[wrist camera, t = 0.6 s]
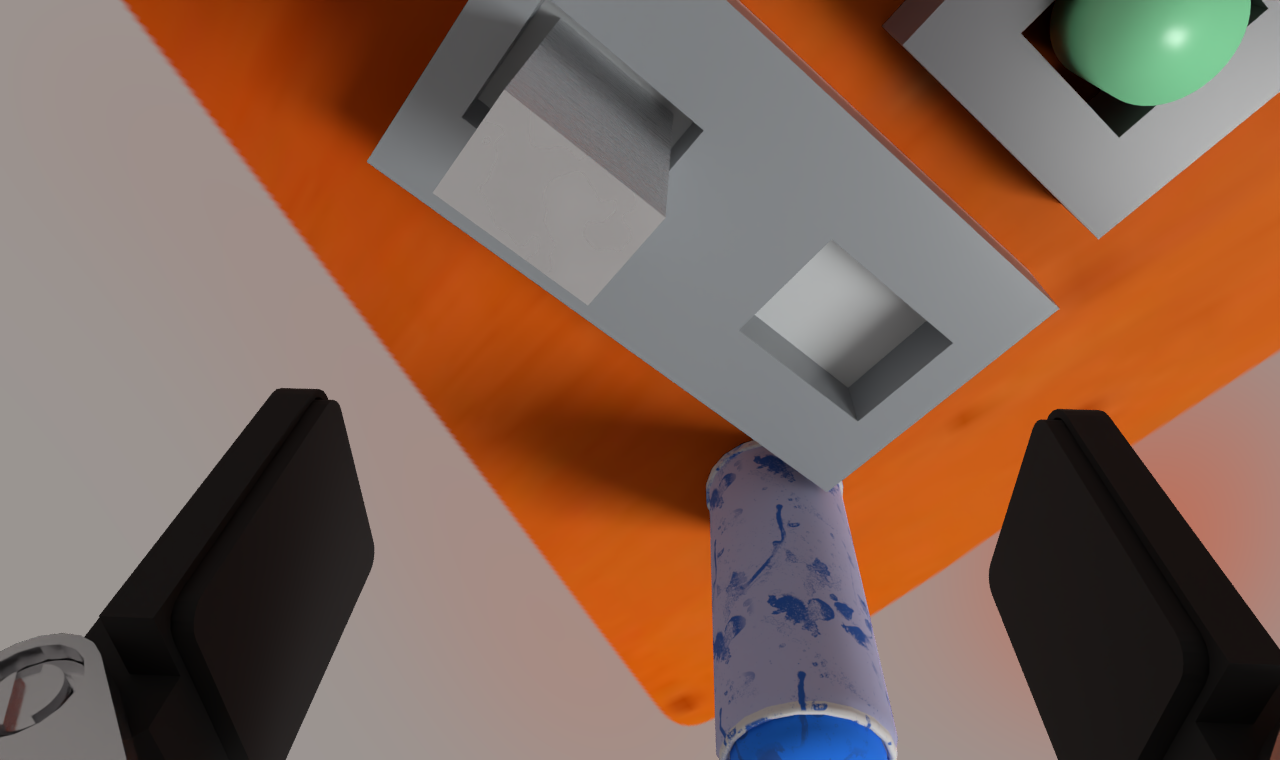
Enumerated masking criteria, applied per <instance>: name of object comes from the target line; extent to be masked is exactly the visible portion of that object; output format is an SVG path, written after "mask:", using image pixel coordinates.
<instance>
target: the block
mask: <svg viewBox="0 0 1280 760" xmlns="http://www.w3.org/2000/svg"><path fill="white" fill-rule="evenodd" d="M672 125H673V113H672V112H671V111H670V110H669V109H668V108H666V107H665V106H664V105H663V104H662V103H660V102H659V101H658V100H657V99H656V98H655V97H653V96H652V95H651V94H650V93H649V92H647V91H646V90H645V89H644V88H643V87H642V86H640V85H639V84H638V83H637V82H636V81H634V80H633V79H632V78H631V77H630V76H629V75H627V74H626V73H625V72H624V71H623V70H622V69H620V68H619V67H618V66H617V65H616V64H614V63H613V62H612V61H611V60H610V59H609V58H607V57H606V56H605V55H604V54H603V53H601V52H600V51H599V50H598V49H597V48H596V47H594V46H593V45H592V44H591V43H590V42H588V41H587V40H586V39H585V38H584V37H583V36H581V35H580V34H579V33H578V32H577V31H575V30H574V29H573V28H572V27H571V26H570V25H568V24H567V23H566V22H565V21H564V20H563V19H560V20H559V21H558V22H557V24H556V25H555V26H554V27H553V29H552V30H551V31H550V32H549V34H548V35H547V36H546V38H545V39H544V40H543V41H542V43H541V44H540V45H539V46H538V48H537V49H536V50H535V51H534V53H533V54H532V55H531V56H530V58H529V59H528V60H527V61H526V63H525V64H524V65H523V67H522V68H521V69H520V70H519V72H518V73H517V74H516V75H515V77H514V78H513V79H512V80H511V82H510V83H509V84H508V85H507V87H506V88H505V89H504V91H503V92H502V93H501V95H500V96H499V98H498V99H497V101H496V102H495V104H494V105H493V106H492V108H491V109H490V111H489V112H488V114H487V115H486V117H485V118H484V119H483V121H482V122H481V124H480V125H479V127H478V128H477V130H476V131H475V132H474V134H473V135H472V137H471V138H470V140H469V141H468V142H467V144H466V145H465V147H464V148H463V150H462V151H461V153H460V154H459V155H458V157H457V158H456V160H455V161H454V163H453V164H452V166H451V167H450V168H449V170H448V171H447V173H446V174H445V176H444V177H443V179H442V180H441V181H440V183H439V184H438V186H437V187H436V189H435V190H434V191H433V194H435V195H436V196H437V197H439V198H440V199H442V200H443V201H444V202H446V203H447V204H448V205H450V206H451V207H453V208H454V209H455V210H457V211H458V212H460V213H461V214H462V215H464V216H465V217H466V218H468V219H469V220H471V221H472V222H473V223H475V224H476V225H477V226H479V227H480V228H482V229H483V230H484V231H486V232H487V233H488V234H490V235H491V236H493V237H494V238H495V239H497V240H498V241H500V242H501V243H502V244H504V245H505V246H506V247H508V248H509V249H511V250H512V251H513V252H515V253H516V254H517V255H519V256H520V257H522V258H523V259H524V260H526V261H527V262H528V263H530V264H531V265H533V266H534V267H535V268H537V269H538V270H540V271H541V272H542V273H544V274H545V275H546V276H548V277H549V278H551V279H552V280H553V281H555V282H556V283H557V284H559V285H560V286H562V287H563V288H564V289H566V290H567V291H568V292H570V293H571V294H573V295H574V296H575V297H577V298H578V299H579V300H581V301H582V302H584V303H585V304H586V305H589V304H590V303H591V302H592V301H593V299H594V298H595V297H596V296H597V295H598V294H599V293H600V291H601V290H602V289H603V288H604V287H605V286H606V285H607V284H608V282H609V281H610V280H611V279H612V278H613V277H614V276H615V274H616V273H617V272H618V271H619V270H620V269H621V268H622V266H623V265H624V264H625V263H626V262H627V261H628V260H629V259H630V257H631V256H632V255H633V254H634V253H635V252H636V251H637V249H638V248H639V247H640V246H641V245H642V244H643V243H644V242H645V240H646V239H647V238H648V237H649V236H650V235H651V234H652V232H653V231H654V230H655V229H656V228H657V227H658V226H659V225H660V223H661V222H662V221H663V220H664V219H665V218H666V206H667V193H668V179H669V166H670V152H671V139H672Z"/></svg>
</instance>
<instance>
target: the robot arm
mask: <svg viewBox="0 0 1280 760" xmlns="http://www.w3.org/2000/svg"><path fill="white" fill-rule="evenodd" d="M373 560H374V542H373V538H372V534H371V530H370V526H369V522H368V517H367V514H366V509H365V506H364V501H363V497H362V493H361V489H360V485H359V481H358V477H357V473H356V469H355V465H354V460H353V457H352V453H351V448H350V444H349V440H348V436H347V432H346V428H345V424H344V420H343V416H342V412H341V408H340V405H339V404H338V403H337V401H335V400H328V398H327V396H326V394H325V393H324V391H322V390H320V389H291V388H280V389H276V391H274V392H273V393H272V394H271V396H270V397H269V398H268V399H267V401H266V402H265V403H264V405H263V406H262V407H261V408H260V410H259V411H258V412H257V414H256V415H255V416H254V417H253V419H252V420H251V421H250V423H249V424H248V425H247V426H246V428H245V429H244V430H243V432H242V433H241V434H240V436H239V437H238V438H237V439H236V441H235V442H234V443H233V445H232V446H231V447H230V448H229V450H228V451H227V452H226V453H225V455H224V456H223V457H222V459H221V460H220V461H219V462H218V464H217V465H216V466H215V468H214V469H213V470H212V471H211V473H210V474H209V475H208V477H207V478H206V479H205V480H204V482H203V483H202V484H201V486H200V487H199V488H198V489H197V491H196V492H195V493H194V495H193V496H192V497H191V499H190V500H189V501H188V502H187V504H186V505H185V506H184V507H183V509H182V510H181V511H180V513H179V514H178V515H177V516H176V518H175V519H174V520H173V522H172V523H171V524H170V525H169V527H168V528H167V529H166V531H165V532H164V533H163V535H162V536H161V537H160V538H159V540H158V541H157V542H156V543H155V545H154V546H153V547H152V549H151V550H150V551H149V552H148V554H147V555H146V556H145V558H144V559H143V560H142V561H141V563H140V564H139V565H138V567H137V568H136V569H135V570H134V572H133V573H132V574H131V576H130V577H129V578H128V580H127V581H126V582H125V583H124V585H123V586H122V587H121V588H120V590H119V591H118V592H117V594H116V595H115V596H114V597H113V599H112V600H111V601H110V603H109V604H108V605H107V607H106V608H105V609H104V610H103V612H102V613H101V614H100V615H99V617H100V618H99V619H98V620H97V622H96V623H95V624H94V626H93V627H92V628H91V629H90V630H89V632H88V633H87V634H86V636H85V637H82V636H80V635H73V634H65V633H59V634H51V635H44V636H38V637H35V638H32V639H29V640H26V641H23V642H19V643H16V644H14V645H12V646H10V647H8V648H6V649H4V650H2V651H0V760H286V758H287V755H288V753H289V751H290V749H291V746H292V744H293V742H294V740H295V738H296V735H297V733H298V731H299V729H300V726H301V724H302V722H303V720H304V718H305V715H306V713H307V711H308V709H309V706H310V704H311V702H312V700H313V698H314V695H315V693H316V691H317V689H318V686H319V684H320V682H321V680H322V678H323V675H324V673H325V671H326V669H327V666H328V664H329V662H330V660H331V657H332V655H333V653H334V651H335V649H336V646H337V644H338V642H339V640H340V637H341V635H342V633H343V631H344V628H345V626H346V624H347V622H348V620H349V617H350V615H351V613H352V611H353V608H354V606H355V604H356V602H357V599H358V597H359V595H360V593H361V591H362V589H363V586H364V584H365V582H366V580H367V577H368V575H369V573H370V570H371V568H372V565H373ZM989 584H990V589H991V592H992V596H993V598H994V601H995V603H996V606H997V608H998V610H999V613H1000V615H1001V618H1002V621H1003V623H1004V626H1005V628H1006V631H1007V633H1008V636H1009V638H1010V641H1011V643H1012V646H1013V648H1014V650H1015V653H1016V656H1017V658H1018V661H1019V663H1020V666H1021V668H1022V671H1023V673H1024V676H1025V678H1026V680H1027V683H1028V686H1029V688H1030V691H1031V693H1032V695H1033V698H1034V700H1035V703H1036V706H1037V708H1038V711H1039V713H1040V716H1041V718H1042V720H1043V723H1044V726H1045V728H1046V730H1047V733H1048V735H1049V738H1050V741H1051V743H1052V745H1053V748H1054V750H1055V753H1056V756H1057V758H1058V760H1280V649H1279V648H1278V646H1277V645H1276V644H1275V642H1274V641H1273V639H1272V638H1271V637H1270V635H1269V634H1268V633H1267V631H1266V630H1265V629H1264V627H1263V626H1262V625H1261V623H1260V622H1259V620H1258V619H1257V618H1256V616H1255V615H1254V614H1253V612H1252V611H1251V609H1250V608H1249V607H1248V605H1247V604H1246V603H1245V602H1244V600H1243V599H1242V597H1241V596H1240V594H1239V593H1238V592H1237V590H1236V589H1235V588H1234V586H1233V585H1232V583H1231V582H1230V581H1229V579H1228V578H1227V577H1226V575H1225V574H1224V573H1223V571H1222V570H1221V568H1220V567H1219V566H1218V564H1217V563H1216V562H1215V560H1214V559H1213V558H1212V556H1211V555H1210V553H1209V552H1208V551H1207V549H1206V548H1205V547H1204V545H1203V544H1202V543H1201V541H1200V540H1199V538H1198V537H1197V536H1196V534H1195V533H1194V532H1193V531H1192V529H1191V528H1190V526H1189V525H1188V523H1187V522H1186V521H1185V520H1184V518H1183V517H1182V515H1181V514H1180V513H1179V511H1178V510H1177V509H1176V507H1175V506H1174V504H1173V503H1172V502H1171V500H1170V499H1169V497H1168V496H1167V495H1166V493H1165V492H1164V491H1163V489H1162V488H1161V487H1160V485H1159V484H1158V483H1157V481H1156V480H1155V478H1154V477H1153V476H1152V474H1151V473H1150V472H1149V470H1148V469H1147V467H1146V466H1145V465H1144V463H1143V462H1142V461H1141V459H1140V458H1139V457H1138V455H1137V454H1136V453H1135V451H1134V450H1133V449H1132V447H1131V446H1130V444H1129V443H1128V442H1127V440H1126V439H1125V437H1124V436H1123V435H1122V433H1121V432H1120V431H1119V429H1118V428H1117V427H1116V425H1115V424H1114V422H1113V421H1112V420H1111V418H1110V417H1109V416H1108V415H1107V414H1106V413H1105V412H1104V411H1100V410H1072V409H1056V410H1054V411H1052V412H1051V414H1050V415H1049V416H1048V419H1047V420H1039V421H1037V422H1036V423H1035V425H1034V427H1033V430H1032V433H1031V436H1030V439H1029V442H1028V446H1027V449H1026V452H1025V455H1024V458H1023V462H1022V465H1021V468H1020V471H1019V474H1018V478H1017V481H1016V484H1015V487H1014V490H1013V494H1012V497H1011V500H1010V503H1009V506H1008V510H1007V513H1006V516H1005V519H1004V522H1003V525H1002V529H1001V532H1000V535H999V538H998V542H997V545H996V548H995V551H994V554H993V557H992V561H991V564H990V569H989Z"/></svg>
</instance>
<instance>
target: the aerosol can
mask: <svg viewBox="0 0 1280 760" xmlns="http://www.w3.org/2000/svg"><path fill="white" fill-rule="evenodd" d="M842 496H843V483H842V481H841V482H840V483H838V484H837V485H836V486H834V487H833V488H832V489H831V490H829V491H828V492H826V491H824V490H823V489H822V488H820V487H819V486H817V485H816V484H815V483H813V482H812V481H811V480H809V479H808V478H806V477H805V476H804V475H802V474H801V473H799V472H798V471H797V470H795V469H794V468H792V467H791V466H790V465H788V464H787V463H785V462H784V461H783V460H781V459H780V458H778V457H777V456H776V455H774V454H773V453H772V452H770V451H769V450H767V449H766V448H765V447H763V446H762V445H760V444H759V443H758V442H756V441H755V440H753V441H750V442H746V443H743V444H741V445H739V446H737V447H736V448H734V449H732V450H731V451H729V452H728V453H726V454H724V455H723V457H722V458H721V459H720V460H719V461H718V462H717V463H716V465H715V466H714V467H713V468H712V470H711V473H710V475H709V478H708V481H707V483H706V499H707V507H708V509H709V511H710V535H711V574H712V613H713V652H714V691H715V729H716V754H717V756H718V758H719V760H897V754H898V751H897V749H896V747H897V740H898V736H897V732H896V728H895V724H894V719H893V715H892V710H891V706H890V702H889V698H888V693H887V689H886V684H885V680H884V676H883V671H882V667H881V663H880V659H879V654H878V650H877V646H876V641H875V637H874V633H873V629H872V624H871V619H870V615H869V611H868V606H867V602H866V598H865V593H864V589H863V585H862V580H861V576H860V572H859V567H858V563H857V559H856V555H855V550H854V546H853V542H852V537H851V533H850V529H849V524H848V520H847V516H846V511H845V507H844V503H843V498H842Z"/></svg>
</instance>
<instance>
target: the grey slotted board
mask: <svg viewBox="0 0 1280 760" xmlns="http://www.w3.org/2000/svg"><path fill="white" fill-rule="evenodd" d="M560 19H563V20H564V21H565V22H566V23H567V24H568V25H570V26H571V27H572V28H573V29H574V30H575V31H577V32H578V33H579V34H580V35H581V36H583V37H584V38H585V39H586V40H587V41H588V42H590V43H591V44H592V45H593V46H594V47H596V48H597V49H598V50H599V51H600V52H601V53H603V54H604V55H605V56H606V57H607V58H609V59H610V60H611V61H612V62H613V63H614V64H616V65H617V66H618V67H619V68H620V69H622V70H623V71H624V72H625V73H626V74H627V75H629V76H630V77H631V78H632V79H633V80H634V81H636V82H637V83H638V84H639V85H640V86H642V87H643V88H644V89H645V90H646V91H647V92H649V93H650V94H651V95H652V96H653V97H655V98H656V99H657V100H658V101H659V102H660V103H662V104H663V105H664V106H665V107H666V108H668V109H669V110H670V111H671V112H672V113H673V125H672V139H671V152H670V166H669V179H668V193H667V206H666V218H665V219H664V220H663V221H662V222H661V223H660V225H659V226H658V227H657V228H656V229H655V230H654V231H653V232H652V234H651V235H650V236H649V237H648V238H647V239H646V240H645V242H644V243H643V244H642V245H641V246H640V247H639V248H638V249H637V251H636V252H635V253H634V254H633V255H632V256H631V257H630V259H629V260H628V261H627V262H626V263H625V264H624V265H623V266H622V268H621V269H620V270H619V271H618V272H617V273H616V274H615V276H614V277H613V278H612V279H611V280H610V281H609V282H608V284H607V285H606V286H605V287H604V288H603V289H602V290H601V291H600V293H599V294H598V295H597V296H596V297H595V298H594V299H593V301H592V302H591V303H590V304H589V305H586V304H585V303H584V302H582V301H581V300H579V299H578V298H577V297H575V296H574V295H573V294H571V293H570V292H568V291H567V290H566V289H564V288H563V287H562V286H560V285H559V284H557V283H556V282H555V281H553V280H552V279H551V278H549V277H548V276H546V275H545V274H544V273H542V272H541V271H540V270H538V269H537V268H535V267H534V266H533V265H531V264H530V263H528V262H527V261H526V260H524V259H523V258H522V257H520V256H519V255H517V254H516V253H515V252H513V251H512V250H511V249H509V248H508V247H506V246H505V245H504V244H502V243H501V242H500V241H498V240H497V239H495V238H494V237H493V236H491V235H490V234H488V233H487V232H486V231H484V230H483V229H482V228H480V227H479V226H477V225H476V224H475V223H473V222H472V221H471V220H469V219H468V218H466V217H465V216H464V215H462V214H461V213H460V212H458V211H457V210H455V209H454V208H453V207H451V206H450V205H448V204H447V203H446V202H444V201H443V200H442V199H440V198H439V197H437V196H436V195H435V194H433V191H434V190H435V189H436V187H437V186H438V184H439V183H440V181H441V180H442V179H443V177H444V176H445V174H446V173H447V171H448V170H449V168H450V167H451V166H452V164H453V163H454V161H455V160H456V158H457V157H458V155H459V154H460V153H461V151H462V150H463V148H464V147H465V145H466V144H467V142H468V141H469V140H470V138H471V137H472V135H473V134H474V132H475V131H476V130H477V128H478V127H479V125H480V124H481V122H482V121H483V119H484V118H485V117H486V115H487V114H488V112H489V111H490V109H491V108H492V106H493V105H494V104H495V102H496V101H497V99H498V98H499V96H500V95H501V93H502V92H503V91H504V89H505V88H506V87H507V85H508V84H509V83H510V82H511V80H512V79H513V78H514V77H515V75H516V74H517V73H518V72H519V70H520V69H521V68H522V67H523V65H524V64H525V63H526V61H527V60H528V59H529V58H530V56H531V55H532V54H533V53H534V51H535V50H536V49H537V48H538V46H539V45H540V44H541V43H542V41H543V40H544V39H545V38H546V36H547V35H548V34H549V32H550V31H551V30H552V29H553V27H554V26H555V25H556V24H557V22H558V21H559V20H560ZM367 162H368V163H369V164H371V165H372V166H373V167H375V168H376V169H378V170H379V171H380V172H382V173H383V174H384V175H386V176H387V177H389V178H390V179H391V180H393V181H394V182H396V183H397V184H398V185H400V186H401V187H403V188H404V189H405V190H407V191H408V192H410V193H411V194H412V195H414V196H415V197H417V198H418V199H419V200H421V201H422V202H423V203H425V204H426V205H428V206H429V207H430V208H432V209H433V210H435V211H436V212H437V213H439V214H440V215H442V216H443V217H444V218H446V219H447V220H449V221H450V222H451V223H453V224H454V225H455V226H457V227H458V228H460V229H461V230H462V231H464V232H465V233H467V234H468V235H469V236H471V237H472V238H474V239H475V240H476V241H478V242H479V243H481V244H482V245H483V246H485V247H486V248H488V249H489V250H490V251H492V252H493V253H494V254H496V255H497V256H499V257H500V258H501V259H503V260H504V261H506V262H507V263H508V264H510V265H511V266H513V267H514V268H515V269H517V270H518V271H520V272H521V273H522V274H524V275H525V276H526V277H528V278H529V279H531V280H532V281H533V282H535V283H536V284H538V285H539V286H540V287H542V288H543V289H545V290H546V291H547V292H549V293H550V294H552V295H553V296H554V297H556V298H557V299H559V300H560V301H561V302H563V303H564V304H565V305H567V306H568V307H570V308H571V309H572V310H574V311H575V312H577V313H578V314H579V315H581V316H582V317H584V318H585V319H586V320H588V321H589V322H591V323H592V324H593V325H595V326H596V327H597V328H599V329H600V330H602V331H603V332H604V333H606V334H607V335H609V336H610V337H611V338H613V339H614V340H616V341H617V342H618V343H620V344H621V345H623V346H624V347H625V348H627V349H628V350H630V351H631V352H632V353H634V354H635V355H636V356H638V357H639V358H641V359H642V360H643V361H645V362H646V363H648V364H649V365H650V366H652V367H653V368H655V369H656V370H657V371H659V372H660V373H662V374H663V375H664V376H666V377H667V378H668V379H670V380H671V381H673V382H674V383H675V384H677V385H678V386H680V387H681V388H682V389H684V390H685V391H687V392H688V393H689V394H691V395H692V396H694V397H695V398H696V399H698V400H699V401H701V402H702V403H703V404H705V405H706V406H707V407H709V408H710V409H712V410H713V411H714V412H716V413H717V414H719V415H720V416H721V417H723V418H724V419H726V420H727V421H728V422H730V423H731V424H733V425H734V426H735V427H737V428H738V429H740V430H741V431H742V432H744V433H745V434H746V435H748V436H749V437H751V438H752V439H753V440H755V441H756V442H758V443H759V444H760V445H762V446H763V447H765V448H766V449H767V450H769V451H770V452H772V453H773V454H774V455H776V456H777V457H778V458H780V459H781V460H783V461H784V462H785V463H787V464H788V465H790V466H791V467H792V468H794V469H795V470H797V471H798V472H799V473H801V474H802V475H804V476H805V477H806V478H808V479H809V480H811V481H812V482H813V483H815V484H816V485H817V486H819V487H820V488H822V489H823V490H824V491H826V492H828V491H829V490H831V489H832V488H833V487H834V486H836V485H837V484H838V483H840V482H841V481H842V480H843V479H845V478H846V477H847V476H848V475H850V474H851V473H852V472H853V471H855V470H856V469H857V468H858V467H860V466H861V465H862V464H864V463H865V462H866V461H867V460H869V459H870V458H871V457H872V456H874V455H875V454H876V453H877V452H879V451H880V450H881V449H883V448H884V447H885V446H886V445H888V444H889V443H890V442H891V441H893V440H894V439H895V438H896V437H898V436H899V435H900V434H901V433H903V432H904V431H905V430H907V429H908V428H909V427H910V426H912V425H913V424H914V423H915V422H917V421H918V420H919V419H920V418H922V417H923V416H924V415H926V414H927V413H928V412H929V411H931V410H932V409H933V408H934V407H936V406H937V405H938V404H939V403H941V402H942V401H943V400H944V399H946V398H947V397H948V396H950V395H951V394H952V393H953V392H955V391H956V390H957V389H958V388H960V387H961V386H962V385H963V384H965V383H966V382H967V381H969V380H970V379H971V378H972V377H974V376H975V375H976V374H977V373H979V372H980V371H981V370H982V369H984V368H985V367H986V366H987V365H989V364H990V363H991V362H993V361H994V360H995V359H996V358H998V357H999V356H1000V355H1001V354H1003V353H1004V352H1005V351H1006V350H1008V349H1009V348H1010V347H1012V346H1013V345H1014V344H1015V343H1017V342H1018V341H1019V340H1020V339H1022V338H1023V337H1024V336H1025V335H1027V334H1028V333H1029V332H1030V331H1032V330H1033V329H1034V328H1036V327H1037V326H1038V325H1039V324H1041V323H1042V322H1043V321H1044V320H1046V319H1047V318H1048V317H1049V316H1051V315H1052V314H1053V313H1055V312H1056V311H1057V310H1058V309H1059V308H1058V306H1057V305H1056V304H1055V303H1054V301H1053V300H1052V299H1051V298H1050V296H1049V295H1048V294H1047V293H1046V291H1045V290H1044V289H1043V288H1042V286H1041V285H1040V284H1039V283H1038V281H1037V280H1036V279H1035V278H1034V276H1033V275H1032V274H1031V273H1030V271H1029V270H1028V269H1027V268H1026V267H1025V266H1024V265H1023V264H1021V263H1020V262H1019V261H1018V260H1017V259H1016V258H1015V257H1014V256H1013V255H1012V254H1011V253H1010V252H1009V251H1007V250H1006V249H1005V248H1004V247H1003V246H1002V245H1001V244H1000V243H999V242H998V241H997V240H996V239H995V238H994V237H992V236H991V235H990V234H989V233H988V232H987V231H986V230H985V229H984V228H983V227H982V226H981V225H980V224H978V223H977V222H976V221H975V220H974V219H973V218H972V217H971V216H970V215H969V214H968V213H967V212H966V211H965V210H963V209H962V208H961V207H960V206H959V205H958V204H957V203H956V202H955V201H954V200H953V199H952V198H951V197H950V196H948V195H947V194H946V193H945V192H944V191H943V190H942V189H941V188H940V187H939V186H938V185H937V184H936V183H934V182H933V181H932V180H931V179H930V178H929V177H928V176H927V175H926V174H925V173H924V172H923V171H922V170H921V169H919V168H918V167H917V166H916V165H915V164H914V163H913V162H912V161H911V160H910V159H909V158H908V157H907V156H906V155H904V154H903V153H902V152H901V151H900V150H899V149H898V148H897V147H896V146H895V145H894V144H893V143H892V142H890V141H889V140H888V139H887V138H886V137H885V136H884V135H883V134H882V133H881V132H880V131H879V130H878V129H877V128H875V127H874V126H873V125H872V124H871V123H870V122H869V121H868V120H867V119H866V118H865V117H864V116H863V115H861V114H860V113H859V112H858V111H857V110H856V109H855V108H854V107H853V106H852V105H851V104H850V103H849V102H848V101H846V100H845V99H844V98H843V97H842V96H841V95H840V94H839V93H838V92H837V91H836V90H835V89H834V88H833V87H831V86H830V85H829V84H828V83H827V82H826V81H825V80H824V79H823V78H822V77H821V76H820V75H819V74H817V73H816V72H815V71H814V70H813V69H812V68H811V67H810V66H809V65H808V64H807V63H806V62H805V61H804V60H802V59H801V58H800V57H799V56H798V55H797V54H796V53H795V52H794V51H793V50H792V49H791V48H790V47H788V46H787V45H786V44H785V43H784V42H783V41H782V40H781V39H780V38H779V37H778V36H777V35H776V34H775V33H773V32H772V31H771V30H770V29H769V28H768V27H767V26H766V25H765V24H764V23H763V22H762V21H761V20H760V19H758V18H757V17H756V16H755V15H754V14H753V13H752V12H751V11H750V10H749V9H748V8H747V7H746V6H744V5H743V4H742V3H741V2H740V1H739V0H468V2H467V4H466V5H465V7H464V8H463V10H462V11H461V13H460V15H459V16H458V18H457V19H456V21H455V23H454V24H453V26H452V27H451V29H450V30H449V32H448V34H447V35H446V37H445V38H444V40H443V42H442V43H441V45H440V46H439V48H438V50H437V51H436V53H435V54H434V56H433V57H432V59H431V61H430V62H429V64H428V65H427V67H426V69H425V70H424V72H423V73H422V75H421V76H420V78H419V80H418V81H417V83H416V84H415V86H414V88H413V89H412V91H411V92H410V94H409V95H408V97H407V99H406V100H405V102H404V103H403V105H402V107H401V108H400V110H399V111H398V113H397V115H396V116H395V118H394V119H393V121H392V122H391V124H390V126H389V127H388V129H387V130H386V132H385V134H384V135H383V137H382V138H381V140H380V141H379V143H378V145H377V146H376V148H375V149H374V151H373V153H372V154H371V156H370V157H369V159H368V160H367Z"/></svg>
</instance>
